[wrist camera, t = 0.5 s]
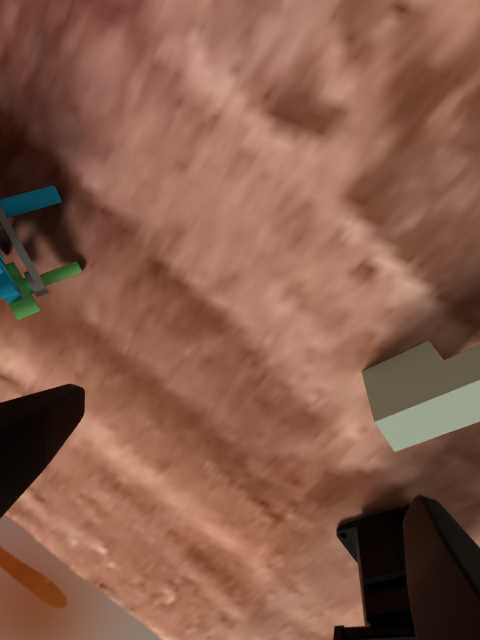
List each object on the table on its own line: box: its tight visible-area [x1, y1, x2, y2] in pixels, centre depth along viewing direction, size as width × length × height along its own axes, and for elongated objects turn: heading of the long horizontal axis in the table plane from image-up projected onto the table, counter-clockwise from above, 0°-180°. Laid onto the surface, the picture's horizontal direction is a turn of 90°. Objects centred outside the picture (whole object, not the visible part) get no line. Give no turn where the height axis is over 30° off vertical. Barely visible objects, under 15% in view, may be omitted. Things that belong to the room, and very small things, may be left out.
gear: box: [0, 185, 82, 320], centre depth 20 cm, size 11×6×10 cm
